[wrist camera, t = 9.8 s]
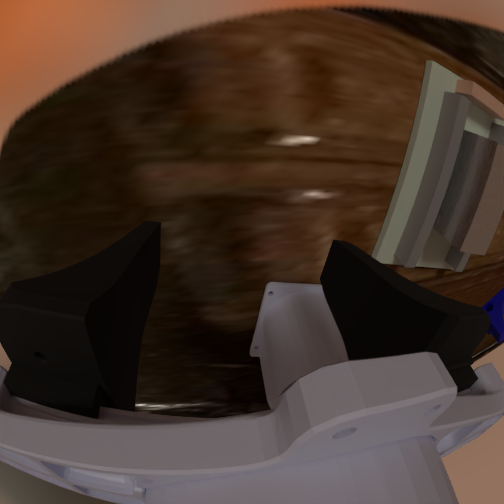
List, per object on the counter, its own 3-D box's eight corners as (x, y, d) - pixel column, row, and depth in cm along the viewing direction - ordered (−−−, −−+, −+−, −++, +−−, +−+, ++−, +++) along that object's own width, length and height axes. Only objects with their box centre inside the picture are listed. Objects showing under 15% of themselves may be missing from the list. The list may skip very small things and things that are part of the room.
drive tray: (452, 265, 27) (466, 280, 25) (370, 257, 25) (384, 276, 22) (504, 113, 18) (524, 120, 16) (426, 60, 16) (449, 61, 13)
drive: (452, 227, 23) (484, 255, 19) (425, 221, 23) (459, 251, 18) (481, 141, 19) (520, 158, 15) (455, 126, 18) (498, 142, 14)
